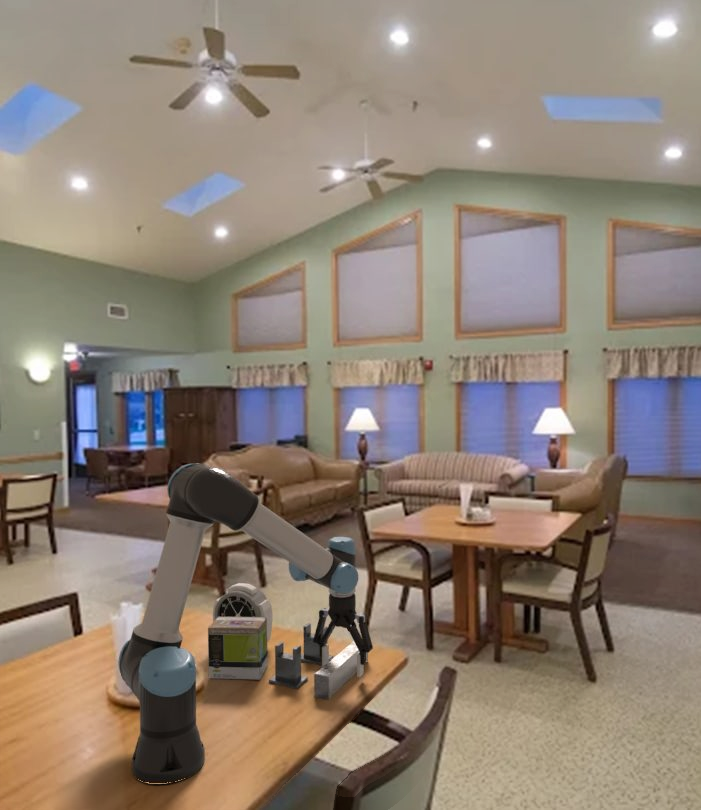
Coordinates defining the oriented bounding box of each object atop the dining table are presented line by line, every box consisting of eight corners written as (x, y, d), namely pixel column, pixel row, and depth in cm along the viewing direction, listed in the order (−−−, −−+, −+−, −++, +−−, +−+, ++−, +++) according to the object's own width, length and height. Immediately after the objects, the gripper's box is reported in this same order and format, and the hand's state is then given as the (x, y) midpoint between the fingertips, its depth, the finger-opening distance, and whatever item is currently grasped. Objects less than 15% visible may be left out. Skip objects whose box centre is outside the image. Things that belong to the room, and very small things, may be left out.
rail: (328, 699, 164) (327, 676, 164) (314, 696, 166) (314, 673, 166) (367, 661, 188) (367, 641, 188) (355, 659, 190) (355, 639, 189)
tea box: (268, 666, 185) (267, 616, 185) (260, 681, 175) (259, 628, 175) (218, 664, 187) (218, 614, 187) (207, 679, 177) (207, 627, 177)
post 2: (324, 665, 185) (324, 632, 185) (297, 660, 189) (297, 627, 189) (333, 658, 190) (333, 625, 190) (307, 653, 194) (307, 620, 194)
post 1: (296, 688, 171) (296, 652, 170) (268, 682, 174) (268, 646, 174) (307, 679, 176) (307, 644, 176) (280, 673, 180) (279, 639, 180)
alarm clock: (210, 650, 197) (210, 586, 197) (223, 640, 205) (223, 578, 205) (263, 656, 192) (262, 590, 192) (274, 646, 200) (274, 582, 200)
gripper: (384, 594, 175) (385, 673, 175) (313, 584, 185) (313, 659, 185) (374, 602, 168) (374, 684, 169) (300, 591, 178) (300, 669, 178)
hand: (342, 671), depth 177 cm, fingers open, 10 cm apart
